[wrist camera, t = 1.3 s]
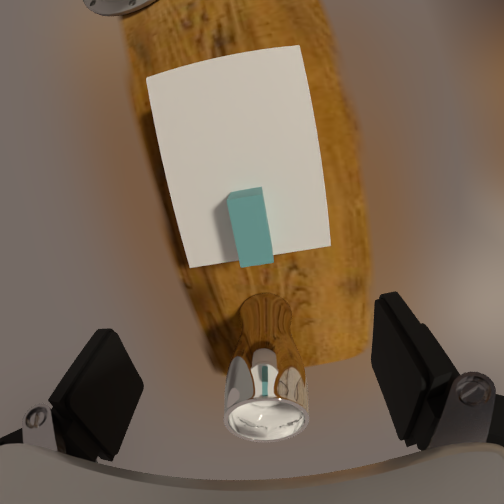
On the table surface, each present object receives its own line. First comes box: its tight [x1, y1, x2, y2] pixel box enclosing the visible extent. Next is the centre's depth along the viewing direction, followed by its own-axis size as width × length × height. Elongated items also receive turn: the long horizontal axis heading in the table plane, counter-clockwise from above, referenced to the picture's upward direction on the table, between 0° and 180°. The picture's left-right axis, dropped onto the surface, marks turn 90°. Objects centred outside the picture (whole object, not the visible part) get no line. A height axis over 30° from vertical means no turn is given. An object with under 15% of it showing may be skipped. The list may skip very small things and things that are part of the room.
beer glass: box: [224, 293, 309, 442], centre depth 26 cm, size 7×7×15 cm
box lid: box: [146, 45, 331, 268], centre depth 20 cm, size 16×12×4 cm
